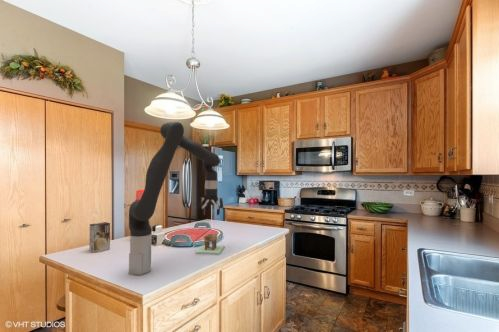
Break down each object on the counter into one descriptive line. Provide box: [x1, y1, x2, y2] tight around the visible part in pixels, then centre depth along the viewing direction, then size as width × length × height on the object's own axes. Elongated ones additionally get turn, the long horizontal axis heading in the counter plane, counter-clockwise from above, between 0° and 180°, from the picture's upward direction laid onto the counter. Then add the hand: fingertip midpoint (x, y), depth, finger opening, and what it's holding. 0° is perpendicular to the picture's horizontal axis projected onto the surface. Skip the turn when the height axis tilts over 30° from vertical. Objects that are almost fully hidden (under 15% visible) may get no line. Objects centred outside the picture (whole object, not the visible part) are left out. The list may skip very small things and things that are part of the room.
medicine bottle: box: [151, 224, 166, 247], centre depth 164 cm, size 7×7×12 cm
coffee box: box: [88, 221, 111, 254], centre depth 150 cm, size 9×6×16 cm
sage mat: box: [194, 244, 226, 256], centre depth 149 cm, size 14×14×1 cm
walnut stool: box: [204, 233, 218, 250], centre depth 149 cm, size 6×6×8 cm
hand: (210, 215), depth 150 cm, fingers open, 8 cm apart
